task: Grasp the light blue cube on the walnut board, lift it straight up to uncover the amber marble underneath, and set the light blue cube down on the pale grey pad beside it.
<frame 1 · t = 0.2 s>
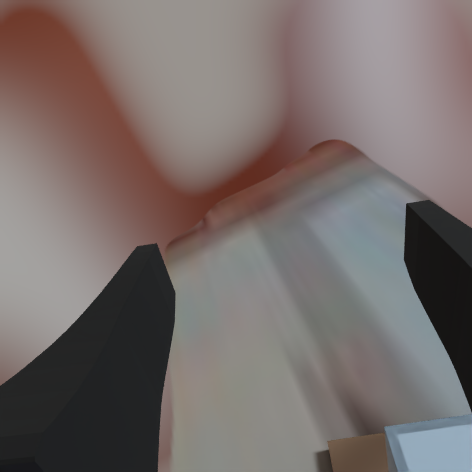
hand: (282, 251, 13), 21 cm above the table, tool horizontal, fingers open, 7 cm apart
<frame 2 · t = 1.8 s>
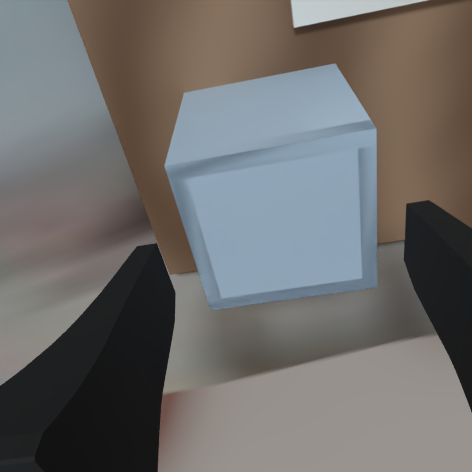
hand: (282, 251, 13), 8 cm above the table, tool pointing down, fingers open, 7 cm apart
board: (331, 25, 17), on the table
light blue cube: (269, 147, 19), point 1 cm above the table, touching board
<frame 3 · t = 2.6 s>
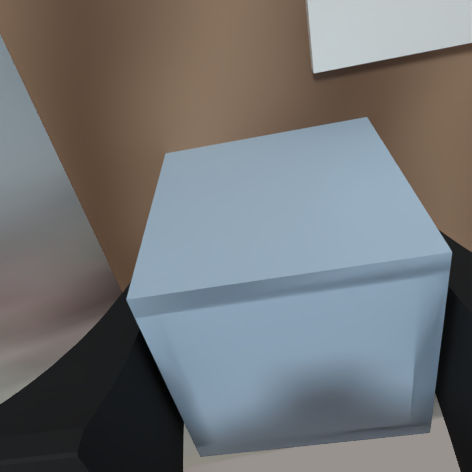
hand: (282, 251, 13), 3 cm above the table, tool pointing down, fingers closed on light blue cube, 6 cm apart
board: (361, 65, 13), on the table
light blue cube: (277, 218, 14), point 1 cm above the table, touching board, gripper
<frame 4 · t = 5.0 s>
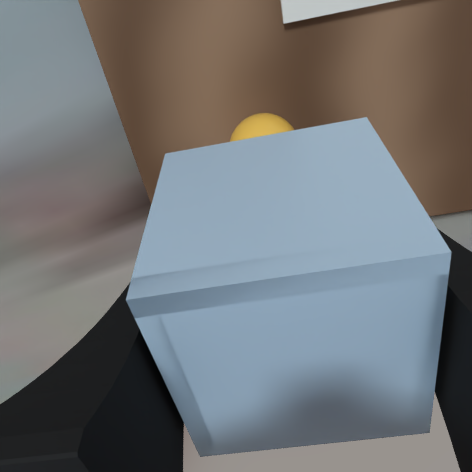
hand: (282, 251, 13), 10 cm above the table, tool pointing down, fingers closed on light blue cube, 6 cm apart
board: (318, 21, 18), on the table
light blue cube: (277, 218, 14), point 8 cm above the table, touching gripper
marble: (264, 149, 19), point 2 cm above the table, touching board
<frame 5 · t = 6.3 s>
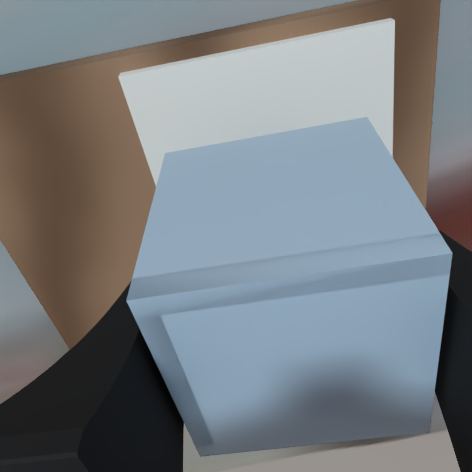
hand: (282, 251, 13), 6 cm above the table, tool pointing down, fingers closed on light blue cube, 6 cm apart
board: (222, 259, 21), on the table
pad: (271, 166, 17), resting on board
light blue cube: (277, 217, 14), point 5 cm above the table, touching gripper
when the fingers open (4 cm above the table, at t = 7.3 s): light blue cube stays where it is, resting on pad.
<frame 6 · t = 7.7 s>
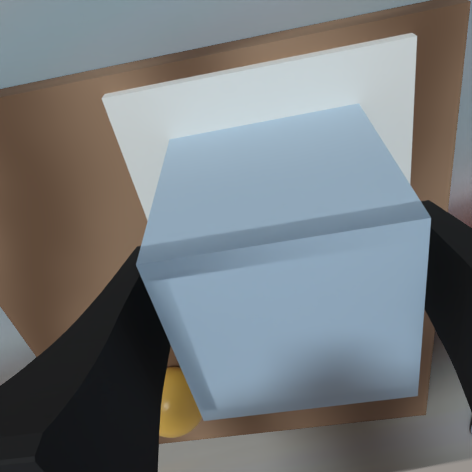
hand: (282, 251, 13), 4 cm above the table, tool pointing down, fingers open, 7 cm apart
board: (220, 290, 20), on the table
pad: (274, 195, 16), resting on board
light blue cube: (275, 201, 15), point 1 cm above the table, touching pad
marble: (173, 401, 20), point 2 cm above the table, touching board
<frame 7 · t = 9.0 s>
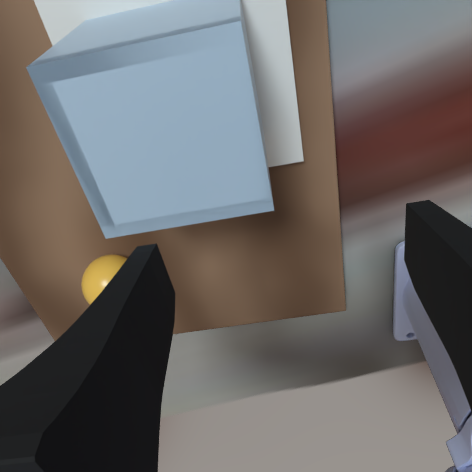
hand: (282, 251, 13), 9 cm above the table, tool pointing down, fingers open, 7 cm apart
board: (151, 183, 22), on the table
pad: (182, 78, 18), resting on board
light blue cube: (181, 81, 18), point 1 cm above the table, touching pad
marble: (112, 283, 23), point 2 cm above the table, touching board
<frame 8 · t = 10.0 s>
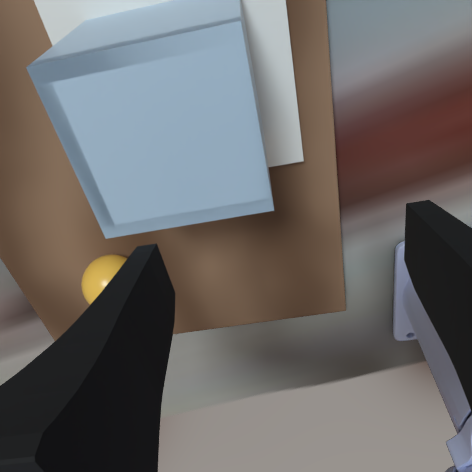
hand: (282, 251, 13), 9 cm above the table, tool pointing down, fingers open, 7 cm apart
board: (151, 183, 22), on the table
pad: (182, 78, 18), resting on board
light blue cube: (181, 81, 18), point 1 cm above the table, touching pad
marble: (112, 283, 23), point 2 cm above the table, touching board
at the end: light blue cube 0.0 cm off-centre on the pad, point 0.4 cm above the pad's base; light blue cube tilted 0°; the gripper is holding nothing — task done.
